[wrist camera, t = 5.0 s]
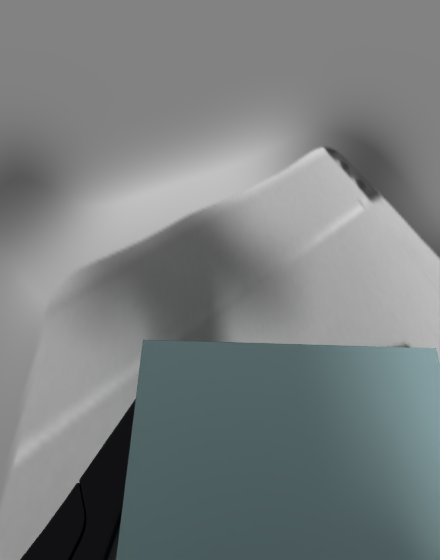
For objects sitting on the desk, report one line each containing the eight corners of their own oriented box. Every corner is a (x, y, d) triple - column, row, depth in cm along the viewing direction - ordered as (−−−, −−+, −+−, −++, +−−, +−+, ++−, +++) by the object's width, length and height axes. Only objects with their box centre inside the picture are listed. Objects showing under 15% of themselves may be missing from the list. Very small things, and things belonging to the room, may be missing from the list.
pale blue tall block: (251, 437, 14) (563, 832, 2) (168, 440, 13) (61, 1001, 2) (250, 351, 15) (435, 348, 4) (175, 349, 15) (143, 339, 3)
